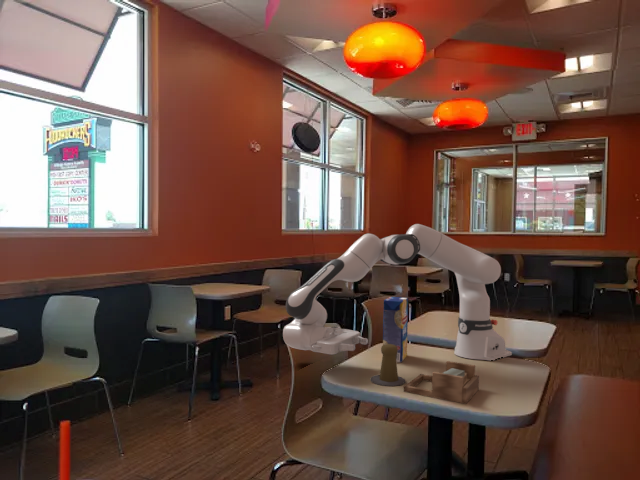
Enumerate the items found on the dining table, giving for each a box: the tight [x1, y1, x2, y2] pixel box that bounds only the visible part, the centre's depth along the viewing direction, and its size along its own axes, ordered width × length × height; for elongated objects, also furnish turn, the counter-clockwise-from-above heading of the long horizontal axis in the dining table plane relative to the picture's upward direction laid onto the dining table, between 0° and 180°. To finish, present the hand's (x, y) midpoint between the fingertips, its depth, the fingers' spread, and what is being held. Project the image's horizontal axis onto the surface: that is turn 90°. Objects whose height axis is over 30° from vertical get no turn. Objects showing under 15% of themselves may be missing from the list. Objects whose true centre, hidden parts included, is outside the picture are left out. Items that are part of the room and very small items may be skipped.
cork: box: [379, 344, 399, 382], centre depth 154 cm, size 6×6×11 cm
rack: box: [403, 360, 480, 405], centre depth 145 cm, size 18×15×7 cm
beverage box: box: [382, 296, 409, 363], centre depth 181 cm, size 7×11×22 cm, turn 159°
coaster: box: [370, 374, 406, 387], centre depth 154 cm, size 11×11×1 cm
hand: (360, 344), depth 159 cm, fingers open, 8 cm apart
